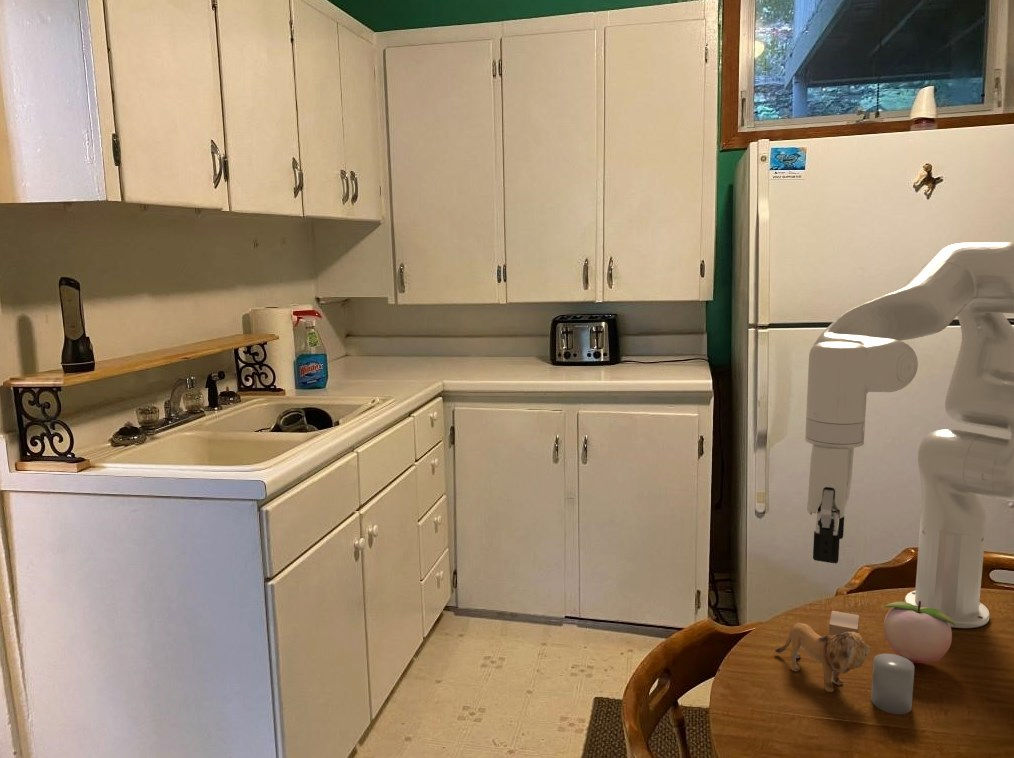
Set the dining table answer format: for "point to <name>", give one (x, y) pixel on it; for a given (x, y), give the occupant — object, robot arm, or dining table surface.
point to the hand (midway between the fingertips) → (828, 548)
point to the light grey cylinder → (892, 683)
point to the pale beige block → (843, 623)
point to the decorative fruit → (917, 632)
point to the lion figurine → (827, 651)
